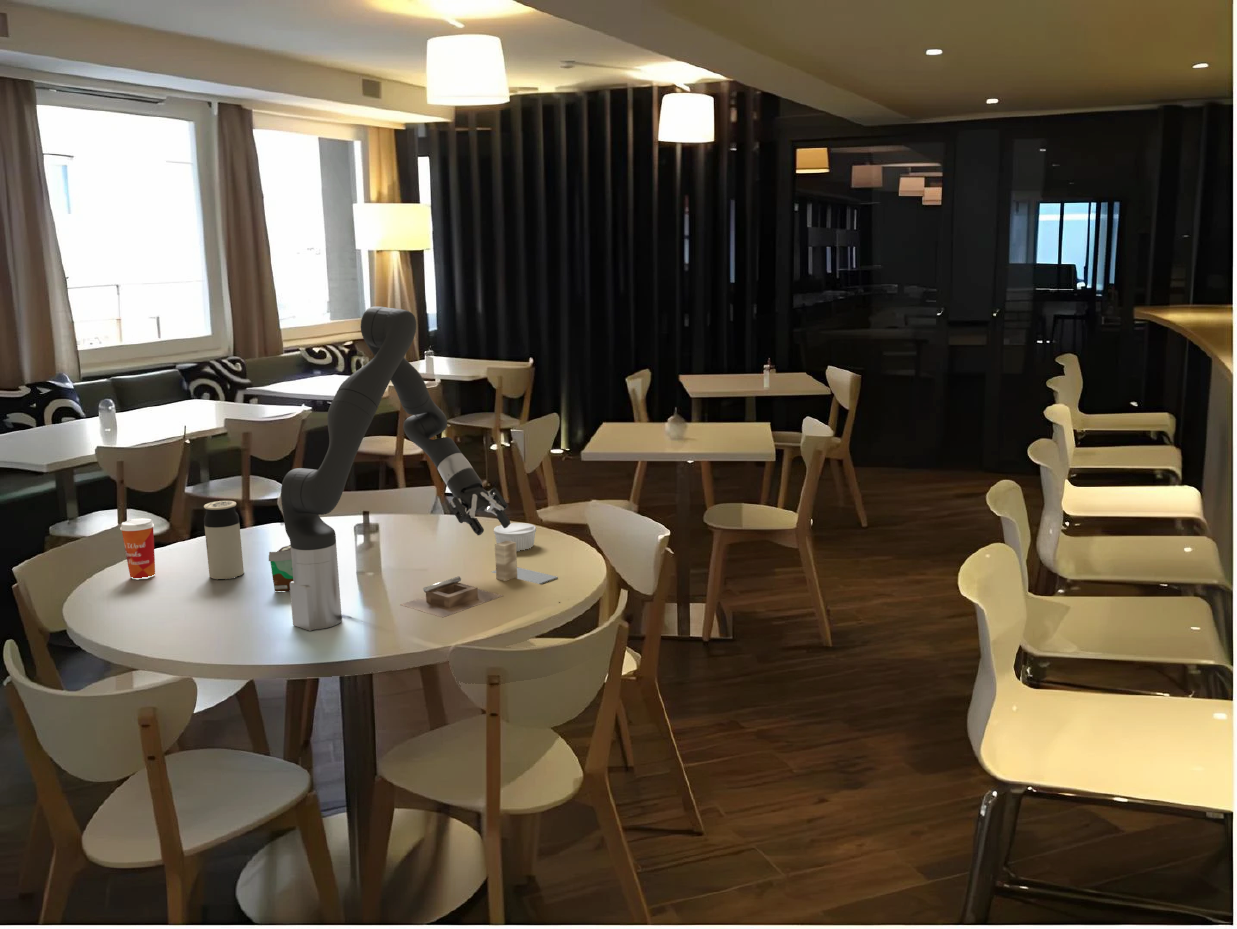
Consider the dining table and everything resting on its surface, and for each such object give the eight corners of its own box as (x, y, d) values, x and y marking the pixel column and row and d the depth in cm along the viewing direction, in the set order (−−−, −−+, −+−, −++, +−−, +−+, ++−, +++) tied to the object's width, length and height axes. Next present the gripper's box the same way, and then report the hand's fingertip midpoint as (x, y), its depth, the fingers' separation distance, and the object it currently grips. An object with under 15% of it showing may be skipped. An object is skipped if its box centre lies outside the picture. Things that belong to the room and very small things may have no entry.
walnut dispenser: (442, 621, 228) (441, 600, 227) (400, 609, 236) (398, 588, 235) (503, 599, 241) (502, 579, 240) (461, 588, 250) (460, 569, 249)
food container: (295, 595, 247) (292, 553, 245) (271, 594, 249) (267, 552, 247) (320, 579, 259) (317, 539, 257) (297, 578, 260) (294, 538, 258)
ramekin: (527, 554, 277) (526, 534, 276) (487, 551, 281) (486, 532, 280) (543, 543, 288) (542, 523, 287) (504, 540, 291) (503, 521, 290)
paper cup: (118, 580, 262) (112, 524, 259) (141, 571, 269) (135, 517, 266) (145, 582, 259) (139, 526, 257) (167, 573, 267) (161, 518, 264)
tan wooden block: (505, 583, 252) (503, 546, 250) (496, 581, 254) (494, 544, 252) (517, 579, 255) (516, 542, 253) (508, 576, 257) (507, 540, 255)
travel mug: (248, 570, 268) (242, 500, 264) (236, 580, 260) (229, 507, 256) (217, 570, 268) (210, 500, 264) (204, 580, 260) (197, 508, 257)
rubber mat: (503, 597, 242) (503, 596, 242) (455, 585, 253) (455, 583, 252) (557, 578, 256) (557, 576, 256) (510, 567, 266) (510, 565, 266)
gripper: (444, 471, 251) (479, 526, 246) (488, 462, 262) (523, 514, 257) (430, 491, 256) (465, 545, 251) (474, 480, 266) (508, 532, 261)
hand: (494, 529), depth 254 cm, fingers open, 8 cm apart
